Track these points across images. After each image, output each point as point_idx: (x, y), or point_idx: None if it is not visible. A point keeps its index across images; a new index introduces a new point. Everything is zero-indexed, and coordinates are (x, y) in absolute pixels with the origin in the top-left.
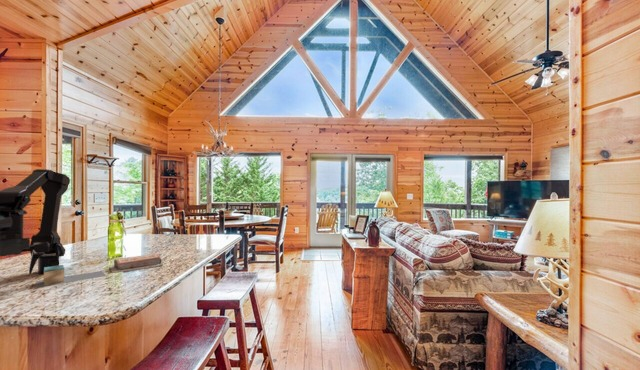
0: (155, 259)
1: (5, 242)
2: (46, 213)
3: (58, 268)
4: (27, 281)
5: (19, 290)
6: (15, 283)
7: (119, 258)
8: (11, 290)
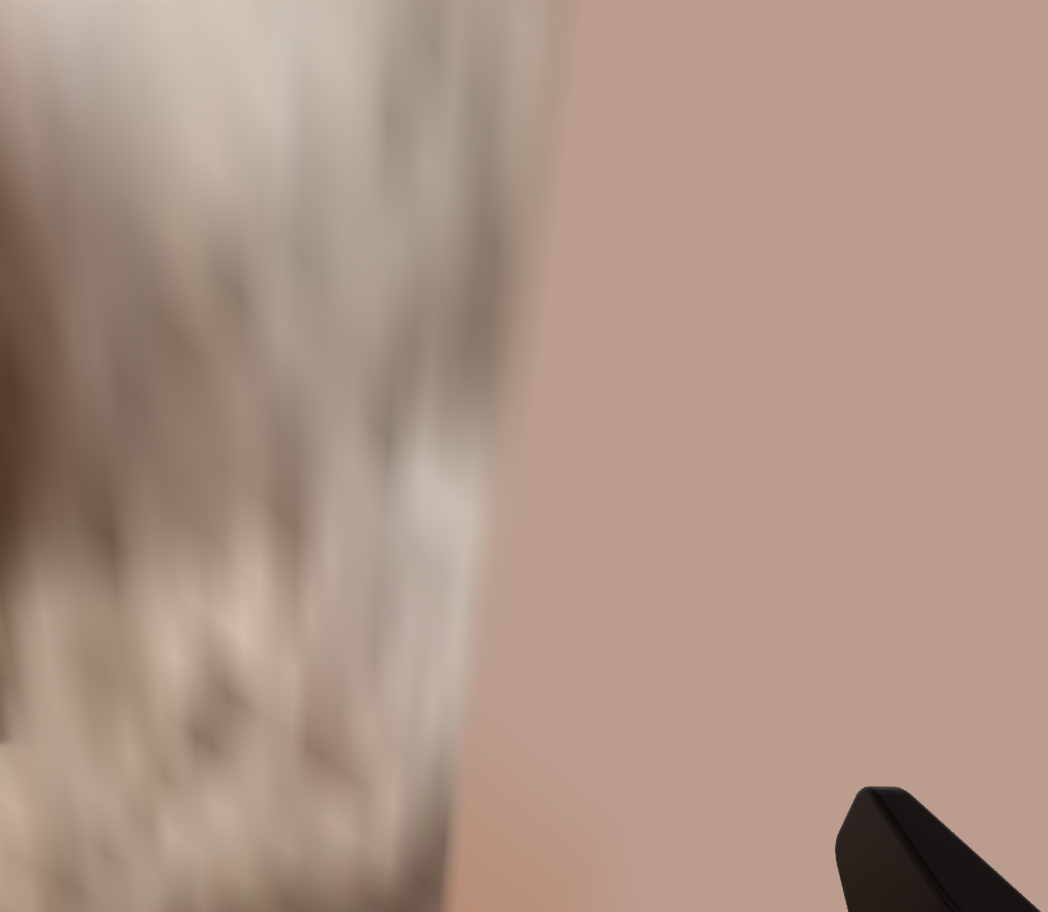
0: None
1: None
2: None
3: None
4: (134, 906)
5: (249, 375)
6: (310, 902)
7: None
8: (392, 505)
